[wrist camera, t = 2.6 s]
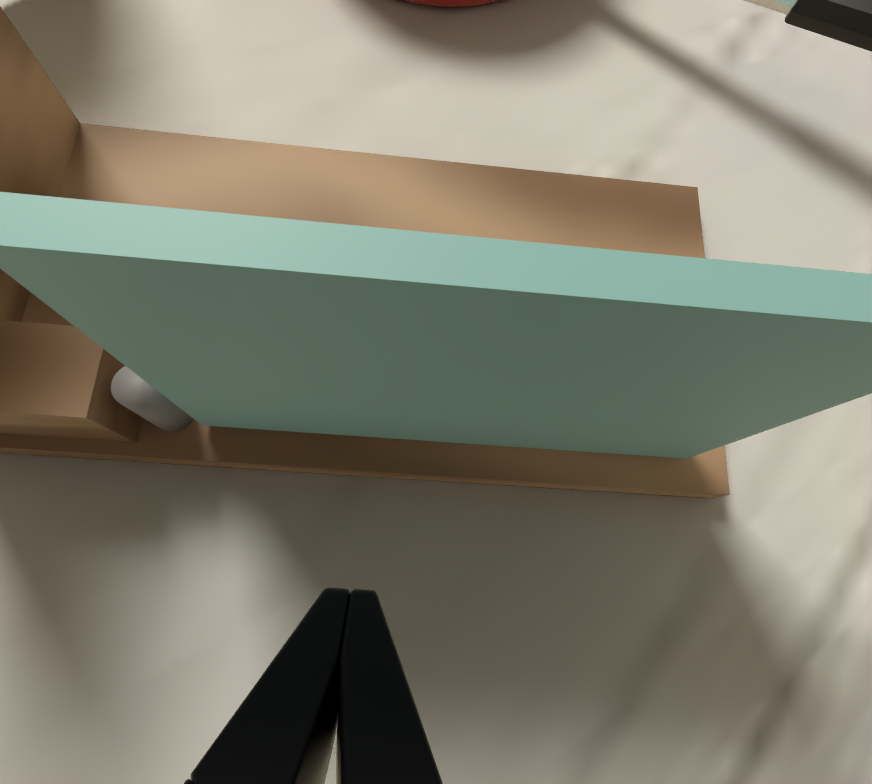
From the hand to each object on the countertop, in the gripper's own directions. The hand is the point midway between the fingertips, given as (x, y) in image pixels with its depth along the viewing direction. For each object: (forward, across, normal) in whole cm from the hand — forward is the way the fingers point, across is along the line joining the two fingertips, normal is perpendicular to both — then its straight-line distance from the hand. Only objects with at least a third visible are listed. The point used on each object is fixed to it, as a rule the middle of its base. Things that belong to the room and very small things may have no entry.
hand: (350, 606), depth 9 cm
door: (+8, -1, +2) cm, 9 cm away
